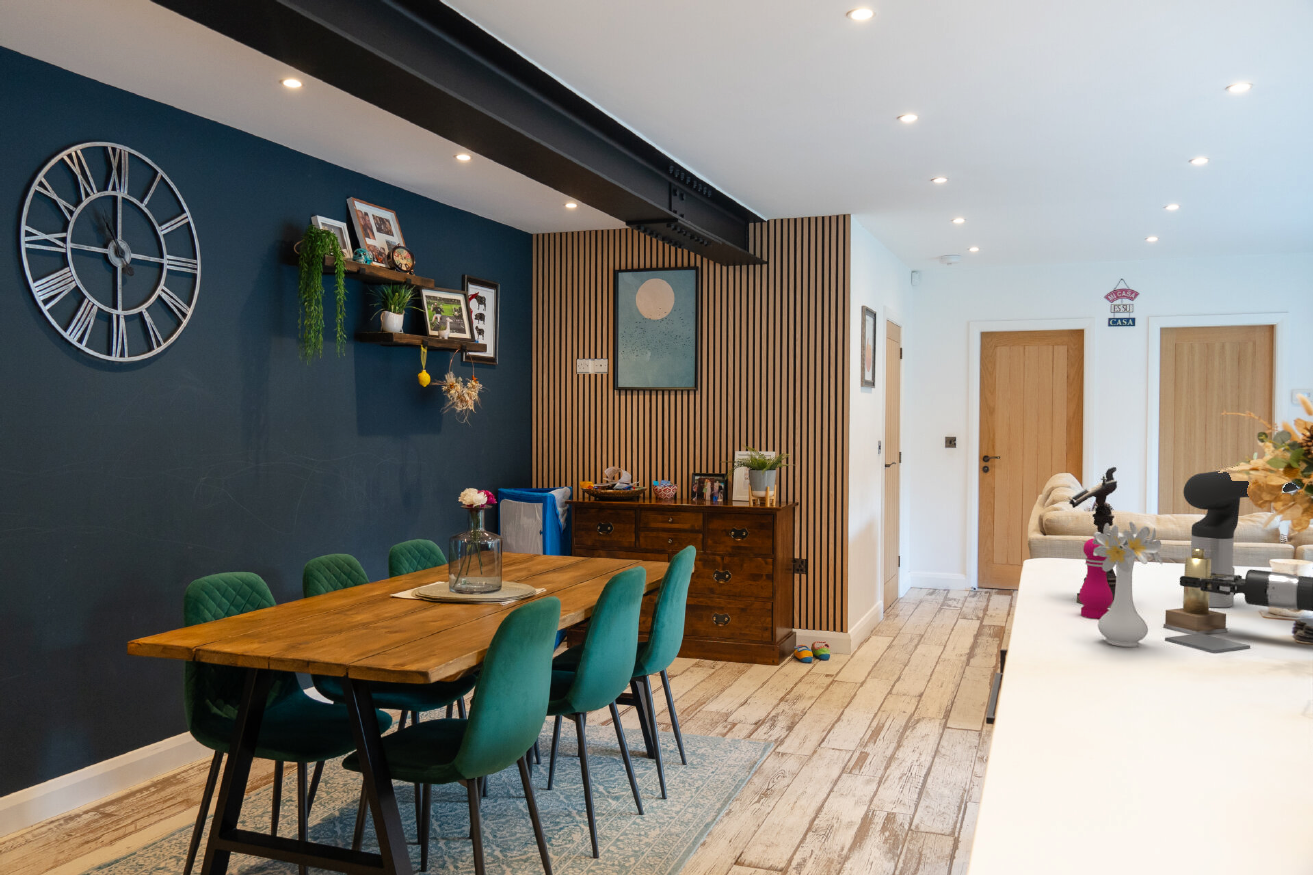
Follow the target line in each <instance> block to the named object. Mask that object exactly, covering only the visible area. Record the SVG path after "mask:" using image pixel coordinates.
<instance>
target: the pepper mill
mask: <svg viewBox="0 0 1313 875" xmlns="http://www.w3.org/2000/svg"><path fill="white" fill-rule="evenodd" d="M1097 534H1100V532H1098V531H1096V532H1094V533H1093V538H1089V539H1088V540H1086V541H1085V543H1084V544H1083V548H1082V550H1083V553H1084V555H1085V556H1086V558H1085V562H1084V563H1085V565H1086V567H1087V568H1086V570H1087V571H1086V575H1087V577H1086V576H1085V577H1086V580H1085V582H1084V581H1083V583H1084V584H1082V585H1083V586H1082V585H1081V588H1080V589H1081V590H1080V589H1079V593H1080V594H1079V599H1080V601H1081V602H1082V605H1083V606H1082V607H1080V615H1081V617H1083V618H1089V619H1095V620H1100V618H1101V617H1102V616H1103V615H1104V614H1105V613H1107V612H1108V611H1109V609H1110V608H1108V607H1109V606H1110V605H1111V604H1112V602H1113V595H1112V592H1111V589H1110V587H1109V585H1108V582H1107V578H1106V571H1104V570H1103V569H1102V565H1103V562H1104V561H1105V559H1106V558H1107V557H1102V556H1099V555H1098V556H1094V555H1093V553H1094V549H1095V548H1097V547H1098V546H1100V545H1098V544H1093V540H1094V539H1095V538H1096V535H1097Z"/></svg>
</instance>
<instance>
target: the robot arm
mask: <svg viewBox="0 0 1313 875" xmlns="http://www.w3.org/2000/svg"><path fill="white" fill-rule="evenodd" d="M1238 465H1239V464H1237V465H1235V466H1238ZM1235 466H1232V467H1231V468H1233V467H1235ZM1226 469H1227V468H1226ZM1226 469H1224V470H1226ZM1221 470H1222V469H1221ZM1221 470H1217V471H1216V470H1214V471H1209V472H1202V473H1201V472H1199V473H1196V474H1194V475H1192V476H1191V477H1190V478H1188V480H1187V481H1186V483H1184V487H1183V498H1184V499H1185V501H1186V502H1187V503H1188V504H1189V505H1190V506H1192V507H1193V508H1196V509H1199V510H1205V511H1206V510H1207V512H1206V514H1205V516H1204V517H1202V519H1200V520H1198V521H1196V522H1194V523H1193V524H1192V525H1191V530H1190V531H1191V532H1190V533H1191V536H1190V541H1191V542H1190V556H1192V549H1193V548H1198V549H1204V550H1205V556H1204V557H1205V558H1210V559H1211V575H1210V578H1204V577H1201V578H1198V577H1189V576H1184V575H1180V577H1179V585H1180V586H1181V587H1184V586H1185V587H1194V588H1199V589H1200V590H1201V591H1206V592H1210V597H1209V608H1231V607H1232V606H1234V603H1235V602H1234V600H1235V599H1234V598H1235V597H1234V596H1236V594H1243V595H1244V601H1245V604H1247V605H1250V606H1257V607H1258V606H1259V607H1267V608H1273V609H1274V608H1275V609H1283V610H1300V611H1307V612H1313V576H1305V575H1295V574H1292V573H1287V572H1278V571H1268V570H1261V569H1249V570H1247V571H1246V573H1245V574H1246V575H1245V578H1243V576H1242V575H1240V574H1235V572H1236V571H1235V567H1234V566H1233V565H1234V541H1235V540H1234V538H1235V531H1236V529H1237V526H1238V524H1239V523H1238V522H1239V516H1240V515H1239V513H1240V503H1241V499H1242V498H1250V497H1249V496H1248V494H1247V488H1248V485H1249V482H1248V481H1232V480H1231V477H1230V475H1229V473H1227V472H1223V473H1218V472H1220V471H1221ZM1297 490H1299V489H1298V488H1297V487H1296V485H1294V484H1292V483H1288V484H1286V485H1285V487H1284V488H1283V491H1284V492H1285V493H1291V492H1293V491H1294V492H1295V491H1297ZM1285 493H1284V494H1285ZM1207 583H1210V587H1207Z"/></svg>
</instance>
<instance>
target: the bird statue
mask: <svg viewBox="0 0 1313 875" xmlns="http://www.w3.org/2000/svg"><path fill="white" fill-rule="evenodd" d="M1116 471H1117V467H1115V466H1113V467H1110V468H1107V470H1106V472H1105V473H1103V474H1102V478H1100V480H1101V482H1099V483H1098V484H1096V485H1094V486H1092V488H1085V489H1083V490H1081V491H1079V492H1078V493H1076V494H1075V495H1073V496H1068V497H1067V498H1068V499H1069V502H1068V504H1069V505H1071V506H1072V509H1075V508H1076V507H1078V506H1079V505H1080V504H1082V503H1084V502H1085V501H1087V500H1088V499H1090V498H1093V497H1094V498H1095V502H1096V504H1097V506H1096V507H1095V513H1092V515H1091V516H1092V517H1093V525H1094V526H1096V527H1097V528H1096V529H1097V532H1100V533H1101V534H1104V533H1103V529H1104V526H1105V524H1106V523H1108V524H1109V526H1110V527H1113V526H1114V522H1113V520H1114V519H1115V515H1114V514H1112V509H1111V507H1110V506H1109V505H1107V504H1105V503H1106V501H1107V496H1109V495H1111V494H1112V493H1113V492H1115V491H1116V489H1117V488H1118V484H1117V483H1118V480H1116V479H1115V478H1114V475H1113V474H1114V473H1116ZM1086 577H1087V574H1086V575H1085V577H1084V578H1083V584H1084V582H1085V580H1086ZM1106 578H1107V582H1108V585H1109V587H1110V589H1111V592H1112V595H1113V601H1114V597H1115V588H1116V573H1115V571H1114V567H1113V568H1112V569H1111V570H1110V571H1106ZM1083 584H1082V585H1081V587H1082V586H1083ZM1080 590H1081V588H1080V589H1079V591H1080ZM1079 594H1080V592H1077V593H1076V603H1077V604H1080V605H1081V604H1082V602H1081V601H1080V599H1079ZM1112 603H1113V602H1112ZM1082 605H1083V604H1082ZM1111 606H1112V604H1111V605H1110V606H1109V607H1108V609H1110V608H1111Z"/></svg>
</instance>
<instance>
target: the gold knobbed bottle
mask: <svg viewBox="0 0 1313 875" xmlns="http://www.w3.org/2000/svg"><path fill="white" fill-rule="evenodd" d="M1204 556H1205V550H1204V549H1198V548H1193V549H1192V556H1191V555H1190V556H1188V555H1187V556H1185V557H1184V575H1183V576H1189V577H1198V578H1201V577H1204V578H1210V575H1211V559H1210V558H1205V557H1204ZM1207 587H1210V583H1207ZM1209 597H1210V592H1206V591H1201V590H1200V589H1199V588H1194V587H1185V586H1183V600H1182V608H1183V611H1184V612H1188V613H1193V614H1209V610H1210V607H1209Z"/></svg>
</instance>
